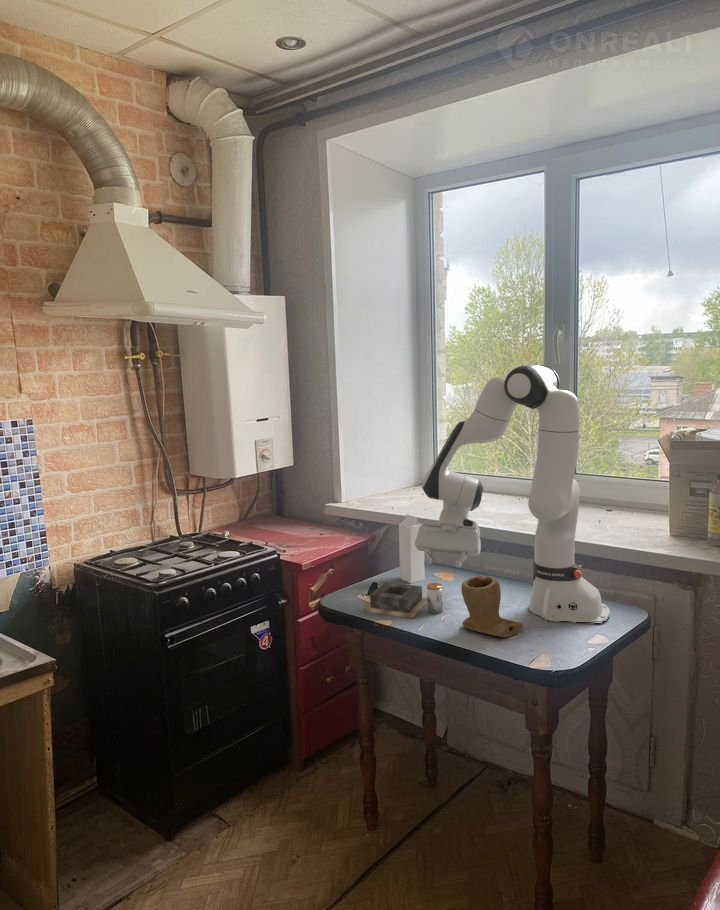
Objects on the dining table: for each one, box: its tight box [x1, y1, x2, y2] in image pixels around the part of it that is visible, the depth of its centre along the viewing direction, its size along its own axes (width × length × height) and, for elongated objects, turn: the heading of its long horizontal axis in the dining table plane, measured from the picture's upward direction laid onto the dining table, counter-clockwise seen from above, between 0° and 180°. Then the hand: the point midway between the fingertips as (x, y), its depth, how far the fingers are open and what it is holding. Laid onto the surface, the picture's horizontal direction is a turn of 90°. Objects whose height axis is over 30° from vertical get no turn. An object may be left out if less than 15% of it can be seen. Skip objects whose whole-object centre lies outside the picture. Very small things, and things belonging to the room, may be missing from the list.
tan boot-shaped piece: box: [461, 575, 524, 638], centre depth 183 cm, size 15×12×15 cm
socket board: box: [362, 581, 427, 619], centre depth 204 cm, size 16×14×5 cm
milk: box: [398, 513, 426, 584], centre depth 227 cm, size 6×6×22 cm
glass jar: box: [426, 582, 444, 615], centre depth 199 cm, size 4×4×8 cm
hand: (442, 564), depth 206 cm, fingers open, 8 cm apart
